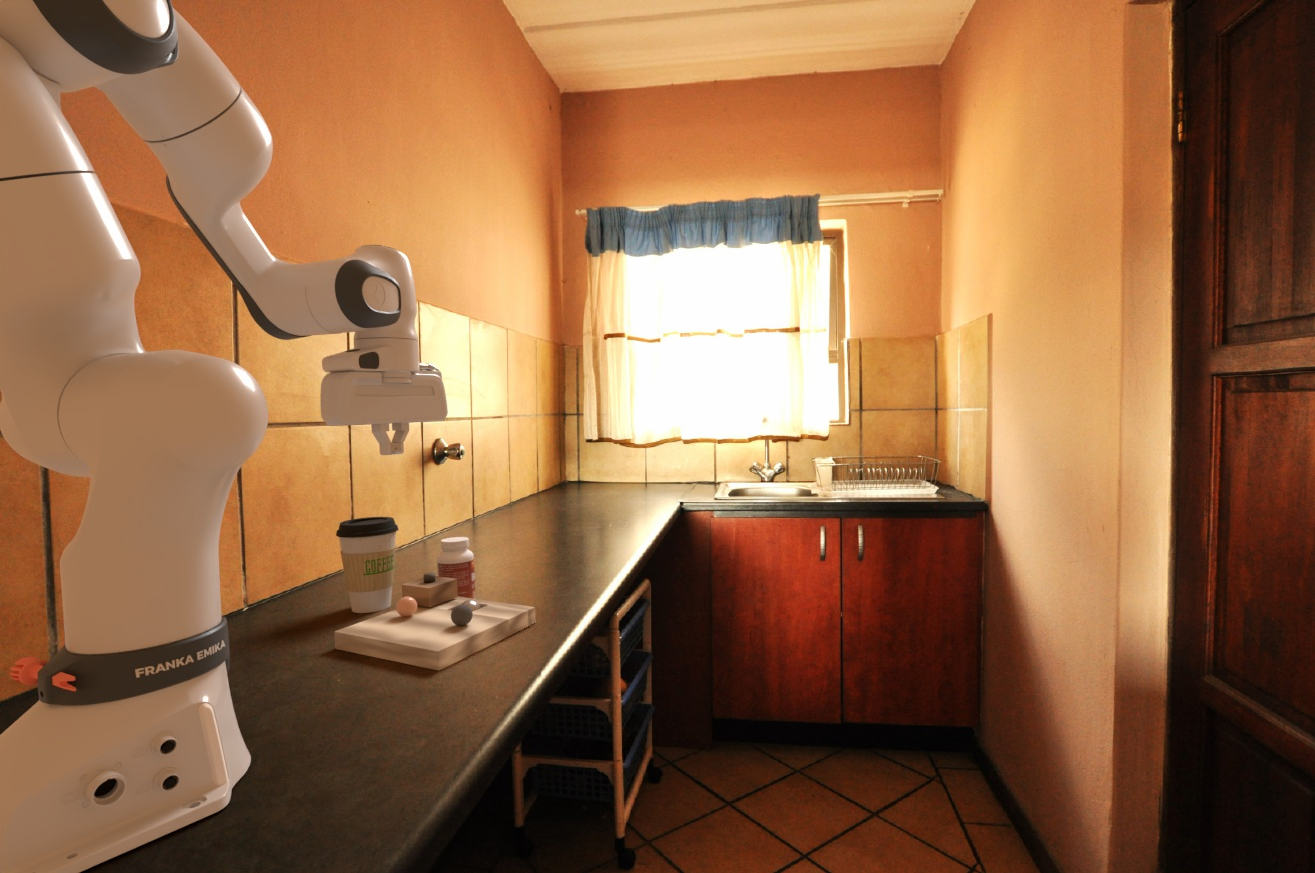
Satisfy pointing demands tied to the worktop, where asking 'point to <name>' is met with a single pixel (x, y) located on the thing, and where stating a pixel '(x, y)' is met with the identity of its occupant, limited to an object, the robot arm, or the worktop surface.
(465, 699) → the worktop surface
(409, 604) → the terracotta ball
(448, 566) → the pill bottle
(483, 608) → the board
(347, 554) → the coffee cup
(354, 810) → the worktop surface
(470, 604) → the steel ball
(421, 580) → the cover
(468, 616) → the black rubber ball
